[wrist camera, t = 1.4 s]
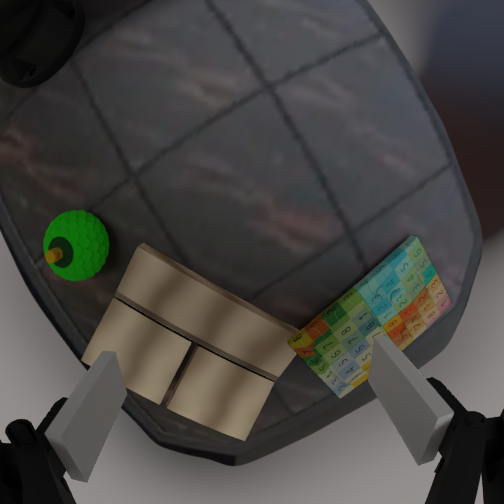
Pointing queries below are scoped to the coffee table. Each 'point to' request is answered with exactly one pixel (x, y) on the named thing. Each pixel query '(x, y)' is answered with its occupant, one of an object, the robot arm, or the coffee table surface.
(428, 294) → the puzzle game
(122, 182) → the coffee table surface
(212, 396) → the plank
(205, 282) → the laid board
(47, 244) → the ornament
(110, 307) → the plank
